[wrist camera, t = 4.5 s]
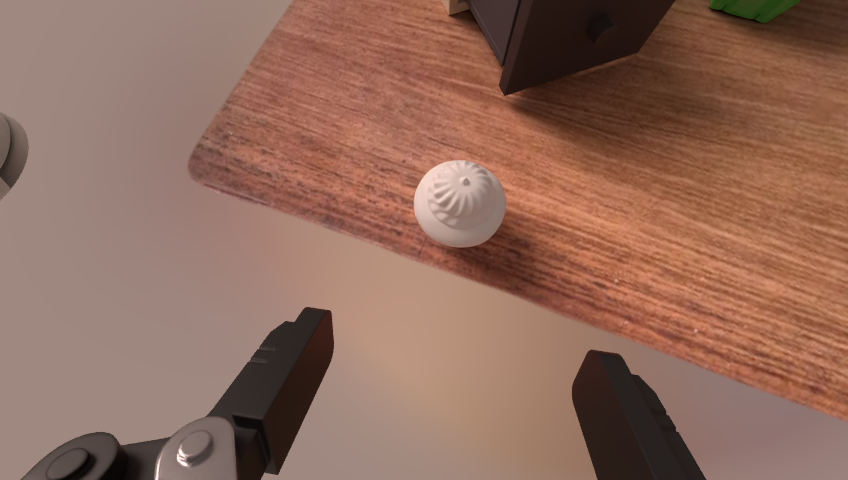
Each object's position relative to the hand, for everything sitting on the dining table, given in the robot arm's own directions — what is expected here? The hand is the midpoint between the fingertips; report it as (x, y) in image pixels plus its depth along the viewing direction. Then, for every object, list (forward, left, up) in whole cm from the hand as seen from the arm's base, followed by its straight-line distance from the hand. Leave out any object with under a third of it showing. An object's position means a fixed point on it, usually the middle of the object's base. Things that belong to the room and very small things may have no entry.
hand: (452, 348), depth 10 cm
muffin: (-5, +8, -13) cm, 16 cm away
